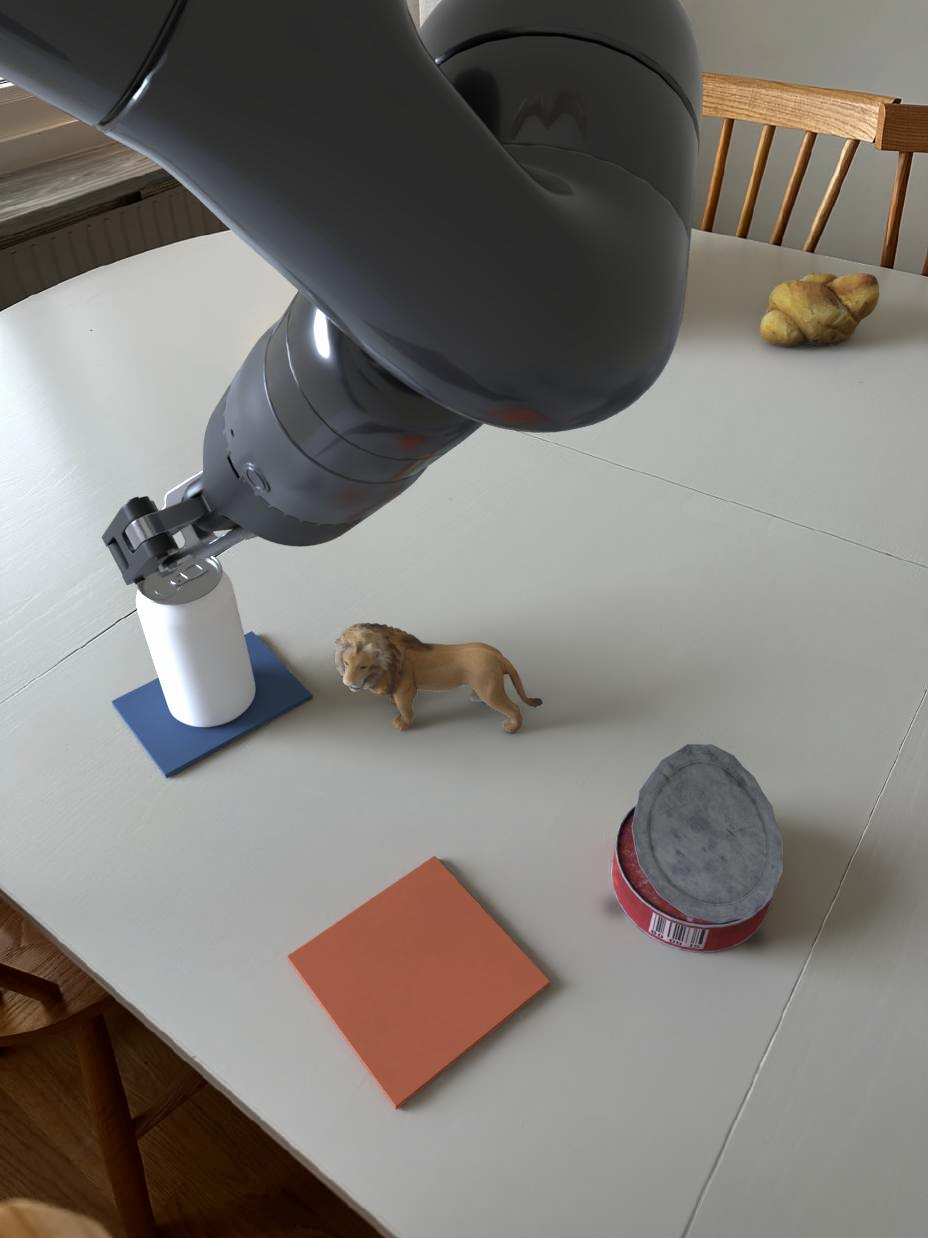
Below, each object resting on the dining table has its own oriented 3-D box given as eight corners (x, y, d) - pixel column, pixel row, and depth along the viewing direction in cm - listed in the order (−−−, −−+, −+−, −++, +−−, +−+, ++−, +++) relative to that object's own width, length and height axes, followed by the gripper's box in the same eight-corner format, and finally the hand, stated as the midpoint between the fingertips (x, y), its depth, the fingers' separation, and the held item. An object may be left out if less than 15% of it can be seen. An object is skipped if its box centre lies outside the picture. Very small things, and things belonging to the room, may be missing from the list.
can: (151, 702, 73) (109, 579, 65) (219, 655, 76) (188, 533, 68) (206, 745, 70) (169, 622, 62) (274, 694, 73) (248, 571, 65)
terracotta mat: (396, 1110, 52) (396, 1107, 51) (287, 959, 58) (286, 956, 58) (550, 984, 57) (550, 981, 56) (434, 858, 63) (434, 855, 63)
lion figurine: (343, 749, 70) (330, 660, 64) (343, 694, 74) (331, 605, 68) (547, 733, 71) (553, 643, 65) (536, 680, 75) (541, 591, 68)
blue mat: (166, 778, 68) (165, 775, 68) (112, 704, 73) (111, 700, 73) (312, 697, 73) (312, 694, 73) (252, 634, 79) (252, 630, 78)
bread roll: (775, 362, 111) (790, 294, 105) (734, 325, 117) (746, 259, 112) (874, 346, 113) (894, 278, 108) (828, 310, 120) (844, 245, 115)
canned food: (720, 867, 67) (817, 785, 62) (728, 997, 59) (841, 918, 54) (580, 796, 66) (667, 705, 60) (569, 921, 58) (668, 830, 52)
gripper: (428, 287, 40) (311, 418, 55) (101, 398, 34) (66, 513, 48) (508, 451, 41) (371, 538, 55) (202, 591, 34) (137, 648, 49)
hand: (229, 526), depth 52 cm, fingers open, 8 cm apart
